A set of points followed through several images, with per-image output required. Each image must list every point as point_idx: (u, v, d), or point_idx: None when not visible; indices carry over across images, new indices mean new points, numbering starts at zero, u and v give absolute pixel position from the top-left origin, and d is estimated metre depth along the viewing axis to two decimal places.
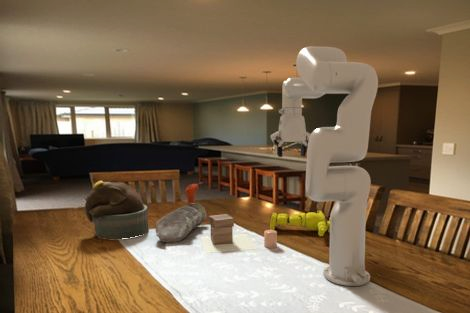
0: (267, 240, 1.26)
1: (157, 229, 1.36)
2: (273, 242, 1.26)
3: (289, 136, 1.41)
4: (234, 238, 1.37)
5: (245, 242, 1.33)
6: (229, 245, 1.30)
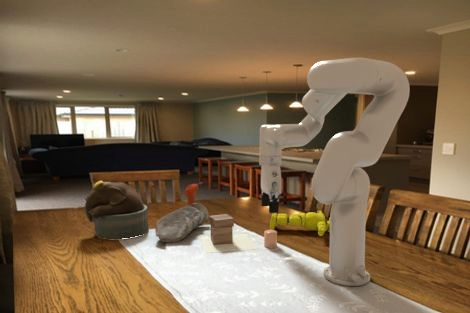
0: (267, 240, 1.26)
1: (157, 229, 1.36)
2: (273, 242, 1.26)
3: None
4: (234, 238, 1.37)
5: (245, 242, 1.33)
6: (229, 245, 1.30)
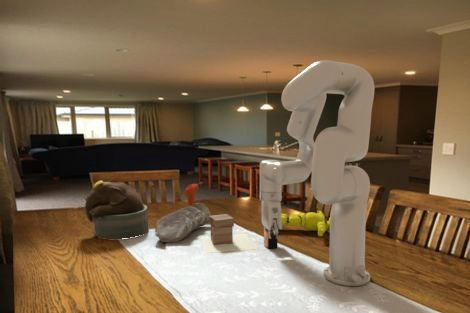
0: (267, 240, 1.26)
1: (156, 229, 1.36)
2: None
3: None
4: (234, 238, 1.37)
5: (245, 242, 1.33)
6: (229, 245, 1.30)
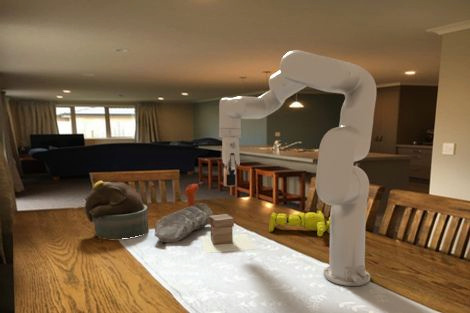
0: None
1: (156, 228, 1.37)
2: None
3: None
4: (234, 238, 1.37)
5: (245, 242, 1.33)
6: (229, 245, 1.30)
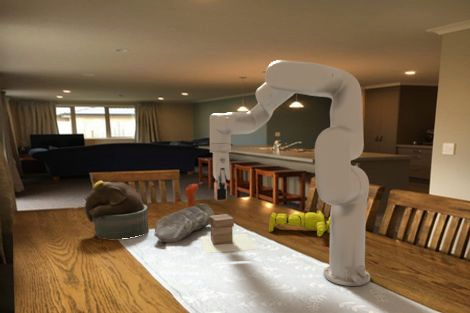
0: None
1: (156, 228, 1.37)
2: None
3: None
4: (234, 238, 1.37)
5: (245, 242, 1.33)
6: (229, 245, 1.30)
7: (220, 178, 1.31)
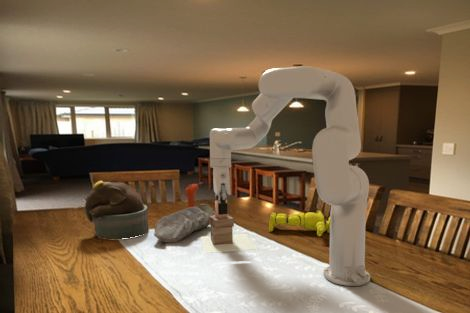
0: (217, 209, 1.31)
1: (156, 228, 1.37)
2: None
3: None
4: (234, 238, 1.37)
5: (245, 242, 1.33)
6: (229, 245, 1.30)
7: (220, 193, 1.31)
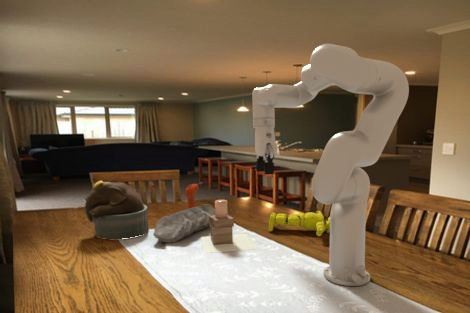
0: (217, 209, 1.31)
1: (156, 228, 1.37)
2: (223, 211, 1.31)
3: None
4: (234, 238, 1.37)
5: (245, 242, 1.33)
6: (229, 245, 1.30)
7: None
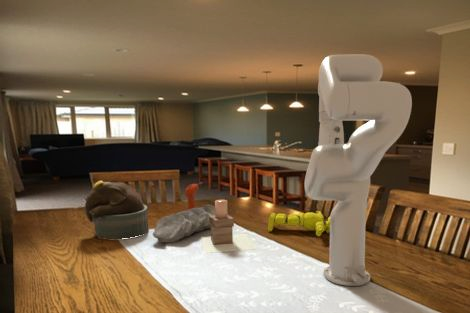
0: (217, 209, 1.31)
1: (155, 228, 1.38)
2: (223, 211, 1.31)
3: None
4: (234, 238, 1.37)
5: (245, 242, 1.33)
6: (229, 245, 1.30)
7: None
